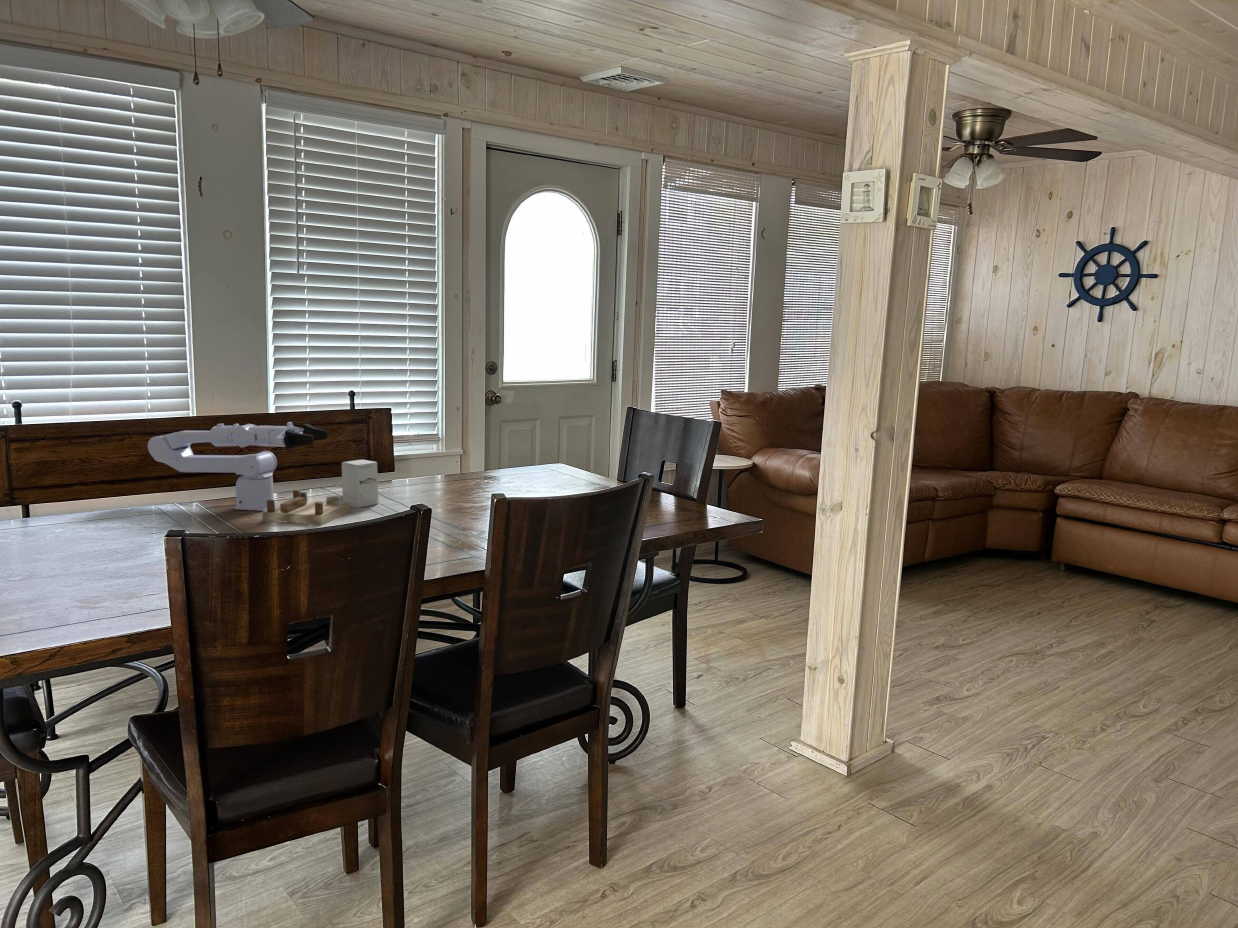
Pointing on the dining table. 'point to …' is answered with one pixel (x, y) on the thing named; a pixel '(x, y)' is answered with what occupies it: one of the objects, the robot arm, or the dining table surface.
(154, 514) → the dining table surface
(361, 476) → the supplement box
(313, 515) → the wooden peg board
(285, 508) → the leg
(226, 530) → the dining table surface
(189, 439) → the robot arm
